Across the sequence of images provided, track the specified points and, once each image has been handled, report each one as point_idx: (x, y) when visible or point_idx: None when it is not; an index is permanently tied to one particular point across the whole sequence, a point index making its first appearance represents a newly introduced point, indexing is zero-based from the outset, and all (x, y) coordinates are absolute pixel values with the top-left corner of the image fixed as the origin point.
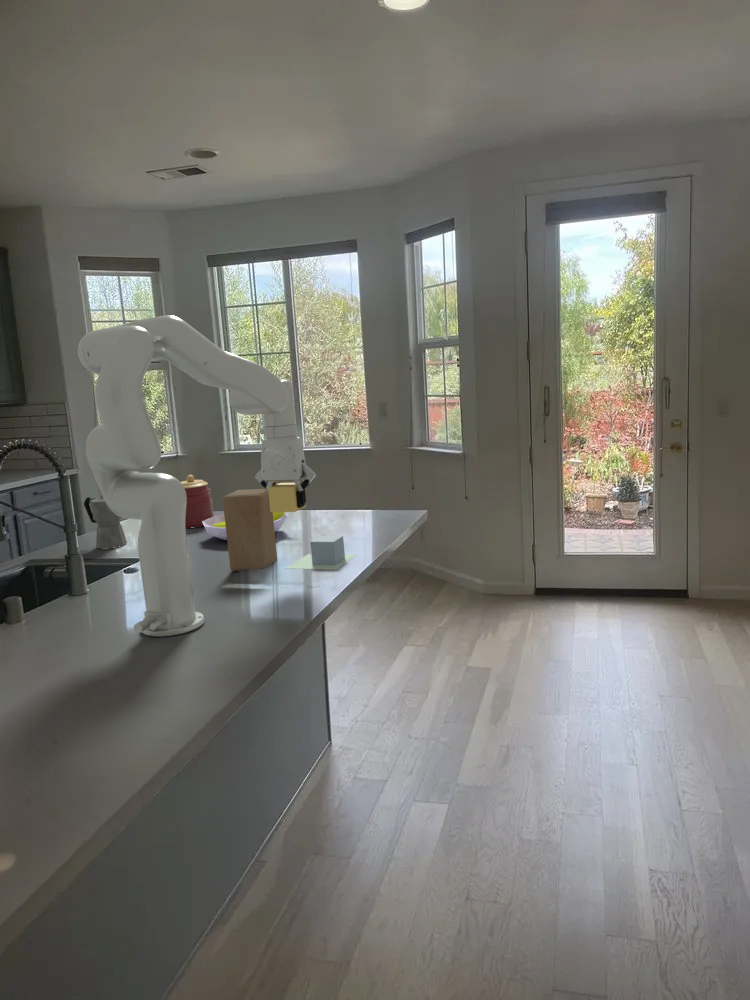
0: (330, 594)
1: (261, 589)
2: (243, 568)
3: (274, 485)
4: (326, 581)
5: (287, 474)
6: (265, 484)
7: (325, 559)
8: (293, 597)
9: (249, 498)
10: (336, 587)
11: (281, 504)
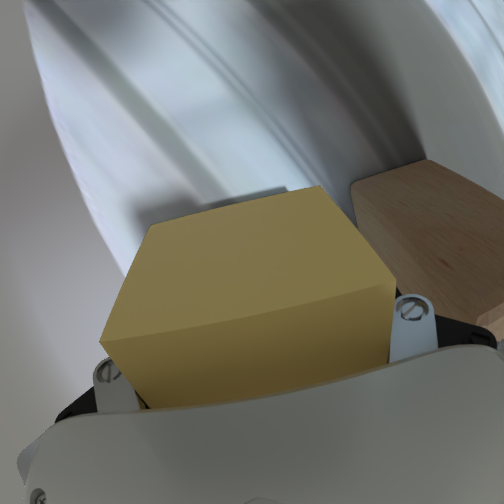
0: (55, 93)
1: (251, 45)
2: (402, 167)
3: (373, 366)
4: (126, 165)
5: (126, 473)
6: (453, 341)
7: None
8: (119, 32)
9: (501, 290)
10: (74, 138)
11: (236, 224)
